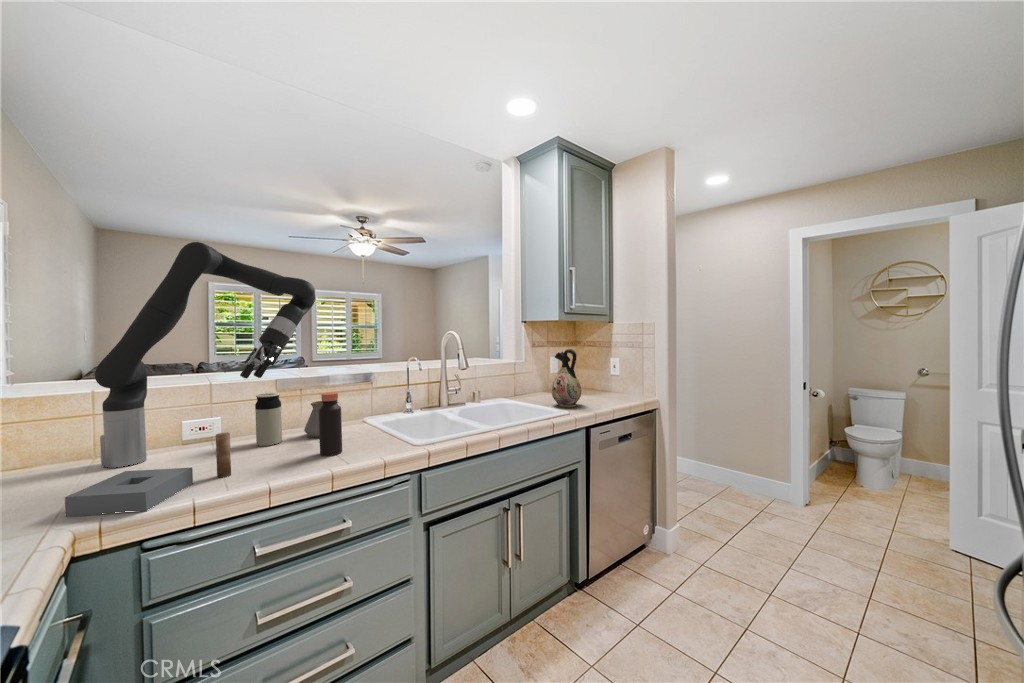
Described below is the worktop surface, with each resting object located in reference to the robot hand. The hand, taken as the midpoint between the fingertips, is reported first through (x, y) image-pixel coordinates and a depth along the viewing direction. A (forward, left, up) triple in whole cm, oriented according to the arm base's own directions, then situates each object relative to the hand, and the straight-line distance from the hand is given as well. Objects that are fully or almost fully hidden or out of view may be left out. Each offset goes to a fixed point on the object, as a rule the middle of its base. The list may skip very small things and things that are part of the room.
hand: (249, 377), depth 119 cm
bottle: (+21, +7, -27) cm, 35 cm away
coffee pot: (+13, +28, -27) cm, 41 cm away
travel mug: (-5, +23, -27) cm, 36 cm away
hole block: (-16, -22, -27) cm, 38 cm away
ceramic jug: (+120, +67, -27) cm, 140 cm away
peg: (-3, -9, -27) cm, 29 cm away
